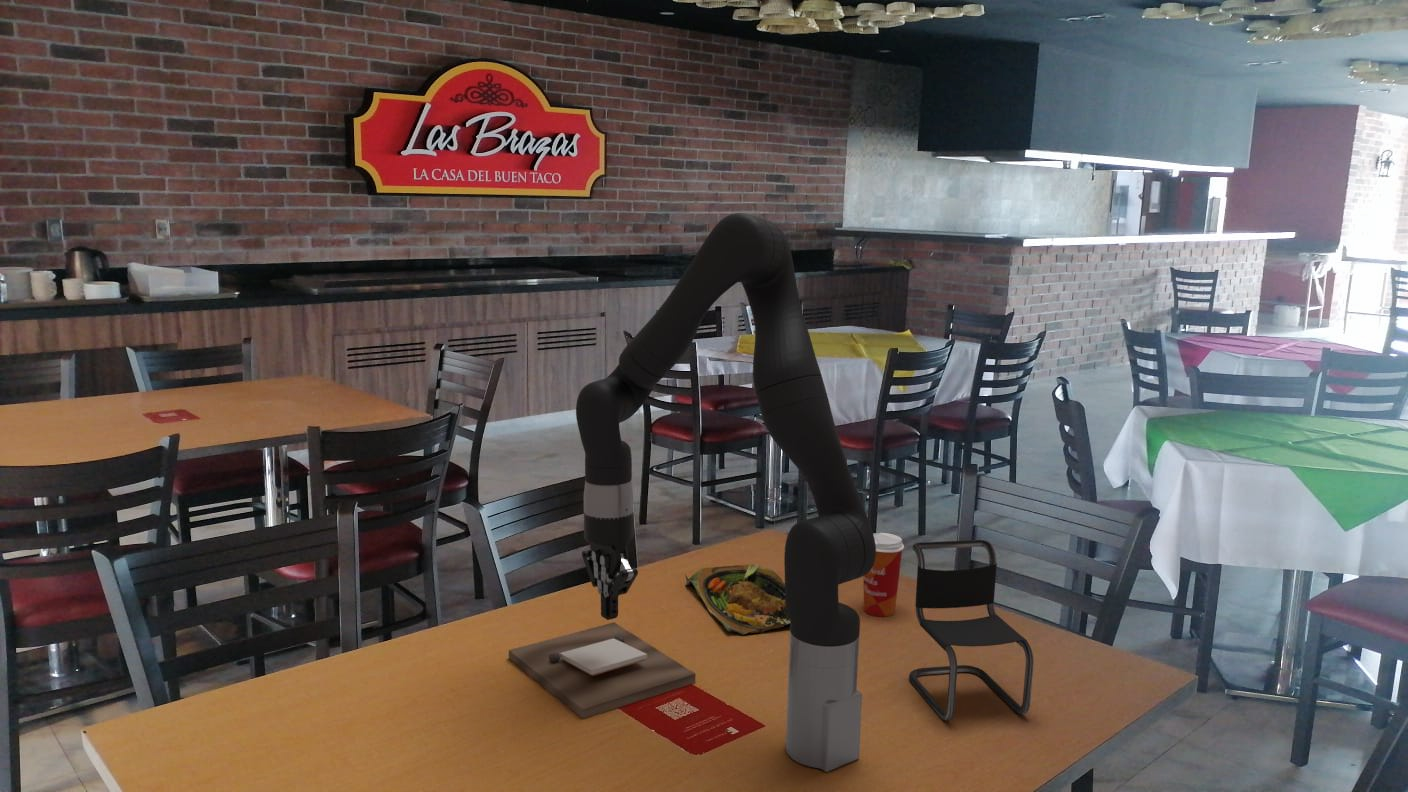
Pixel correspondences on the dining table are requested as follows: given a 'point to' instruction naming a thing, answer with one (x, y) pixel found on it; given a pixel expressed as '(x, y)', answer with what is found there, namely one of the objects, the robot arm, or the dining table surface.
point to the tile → (603, 656)
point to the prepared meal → (742, 596)
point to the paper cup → (883, 576)
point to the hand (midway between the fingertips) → (609, 617)
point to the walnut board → (607, 687)
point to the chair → (964, 622)
